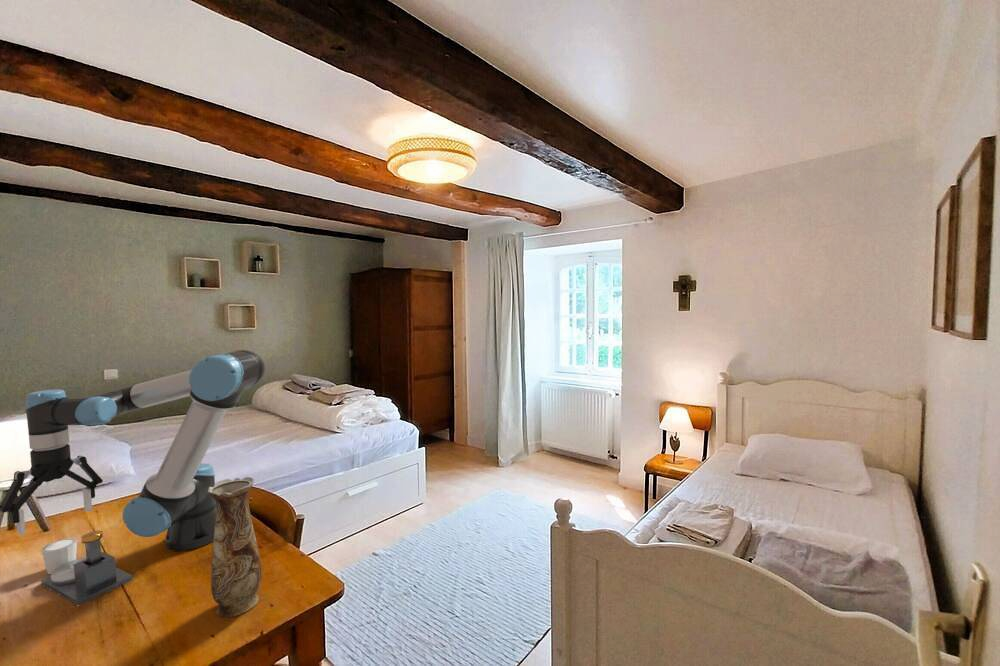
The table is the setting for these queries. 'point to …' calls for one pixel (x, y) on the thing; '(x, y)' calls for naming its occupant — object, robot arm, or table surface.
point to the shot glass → (59, 553)
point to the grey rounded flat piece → (65, 573)
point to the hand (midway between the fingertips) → (56, 521)
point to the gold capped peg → (92, 546)
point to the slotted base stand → (90, 580)
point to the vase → (234, 549)
